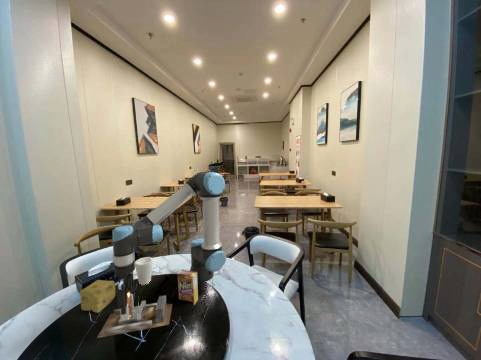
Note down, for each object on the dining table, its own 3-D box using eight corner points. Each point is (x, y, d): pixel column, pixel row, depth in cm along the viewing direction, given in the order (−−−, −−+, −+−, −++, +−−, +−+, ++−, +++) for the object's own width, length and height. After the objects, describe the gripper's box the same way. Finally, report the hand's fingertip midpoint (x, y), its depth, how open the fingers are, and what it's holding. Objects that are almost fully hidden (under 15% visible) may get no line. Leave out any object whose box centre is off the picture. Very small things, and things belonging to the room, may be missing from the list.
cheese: (98, 313, 93) (96, 293, 92) (79, 310, 95) (78, 290, 94) (116, 298, 103) (115, 280, 102) (99, 296, 105) (97, 278, 105)
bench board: (172, 306, 96) (171, 291, 96) (169, 327, 84) (168, 311, 83) (110, 317, 91) (109, 301, 90) (97, 341, 78) (95, 323, 77)
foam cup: (133, 282, 117) (132, 261, 116) (149, 275, 124) (148, 255, 123) (140, 288, 111) (139, 266, 110) (156, 281, 118) (155, 260, 117)
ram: (146, 310, 91) (144, 285, 90) (141, 324, 84) (140, 296, 83) (124, 314, 89) (123, 288, 88) (118, 328, 82) (116, 299, 81)
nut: (151, 315, 90) (159, 309, 91) (149, 321, 86) (157, 315, 87) (146, 309, 89) (153, 303, 90) (143, 315, 85) (151, 309, 86)
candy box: (178, 302, 99) (177, 273, 98) (183, 297, 103) (182, 268, 102) (194, 305, 97) (192, 275, 95) (198, 300, 101) (197, 271, 100)
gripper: (122, 254, 93) (125, 301, 94) (104, 275, 74) (108, 333, 76) (140, 252, 94) (142, 298, 96) (126, 273, 76) (129, 330, 78)
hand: (127, 314), depth 86 cm, fingers closed on ram, 6 cm apart
